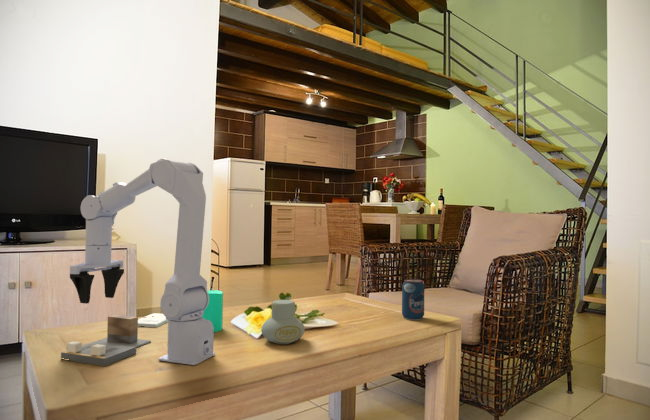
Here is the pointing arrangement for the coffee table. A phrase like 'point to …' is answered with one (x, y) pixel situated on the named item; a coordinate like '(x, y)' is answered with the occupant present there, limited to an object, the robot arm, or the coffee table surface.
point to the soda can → (413, 299)
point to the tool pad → (136, 344)
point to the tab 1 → (74, 346)
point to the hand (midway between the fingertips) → (97, 300)
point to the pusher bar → (122, 329)
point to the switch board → (110, 356)
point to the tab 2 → (98, 349)
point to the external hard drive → (152, 320)
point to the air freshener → (283, 323)
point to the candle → (215, 309)
